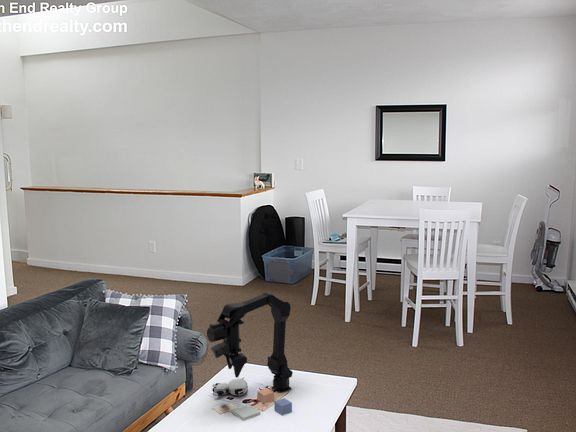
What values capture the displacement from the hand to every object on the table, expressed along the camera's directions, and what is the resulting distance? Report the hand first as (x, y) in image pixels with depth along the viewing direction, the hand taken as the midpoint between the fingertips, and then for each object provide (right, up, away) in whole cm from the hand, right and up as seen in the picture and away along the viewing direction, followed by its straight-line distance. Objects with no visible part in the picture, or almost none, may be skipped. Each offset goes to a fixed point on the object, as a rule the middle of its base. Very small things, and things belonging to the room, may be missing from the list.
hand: (233, 373), depth 232 cm
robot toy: (-3, -13, +13) cm, 19 cm away
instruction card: (-3, -14, -1) cm, 14 cm away
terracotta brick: (+13, -13, +7) cm, 20 cm away
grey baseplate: (+6, -15, -5) cm, 17 cm away
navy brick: (+20, -15, -3) cm, 25 cm away
